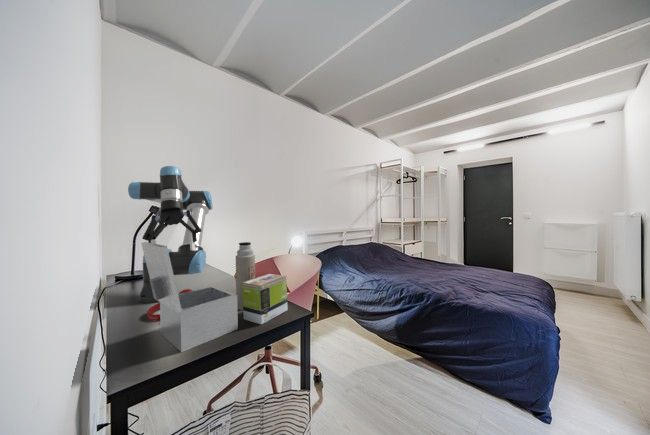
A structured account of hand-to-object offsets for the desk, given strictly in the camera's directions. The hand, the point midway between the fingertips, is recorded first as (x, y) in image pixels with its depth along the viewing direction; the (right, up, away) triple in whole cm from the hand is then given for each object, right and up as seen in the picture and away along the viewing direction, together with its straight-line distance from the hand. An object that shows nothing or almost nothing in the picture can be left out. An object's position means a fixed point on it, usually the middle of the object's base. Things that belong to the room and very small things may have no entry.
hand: (173, 253), depth 92 cm
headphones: (-5, -26, +10) cm, 28 cm away
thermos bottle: (+23, -25, +14) cm, 37 cm away
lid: (+7, -4, -17) cm, 19 cm away
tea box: (+34, -25, +4) cm, 43 cm away
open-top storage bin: (+15, -25, -9) cm, 31 cm away
